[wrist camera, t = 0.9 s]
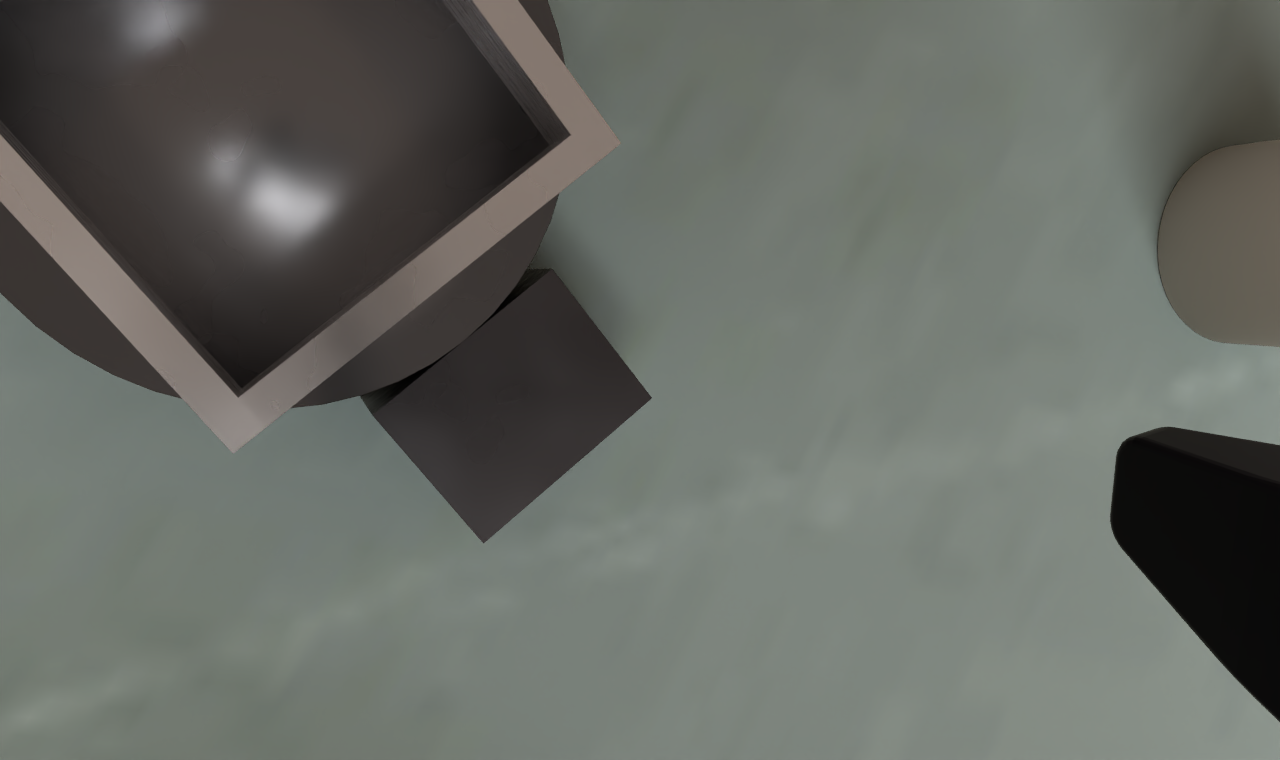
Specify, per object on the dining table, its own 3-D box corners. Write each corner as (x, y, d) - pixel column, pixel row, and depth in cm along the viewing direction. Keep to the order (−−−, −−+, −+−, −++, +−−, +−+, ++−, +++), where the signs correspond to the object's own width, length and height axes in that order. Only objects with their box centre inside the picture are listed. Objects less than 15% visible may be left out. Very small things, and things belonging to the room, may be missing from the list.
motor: (711, 293, 23) (806, 297, 19) (339, 609, 22) (354, 691, 17) (305, -265, 20) (311, -410, 16) (-179, 55, 18) (-319, -12, 14)
